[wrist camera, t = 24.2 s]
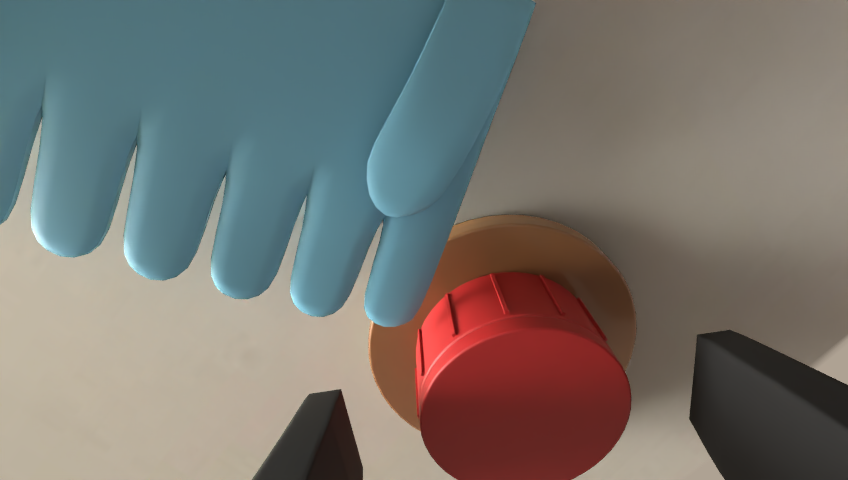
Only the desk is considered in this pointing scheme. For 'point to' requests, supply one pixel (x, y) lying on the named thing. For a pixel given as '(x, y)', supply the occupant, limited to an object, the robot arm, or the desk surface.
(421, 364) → the cap
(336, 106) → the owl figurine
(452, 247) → the coaster
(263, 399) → the desk surface
